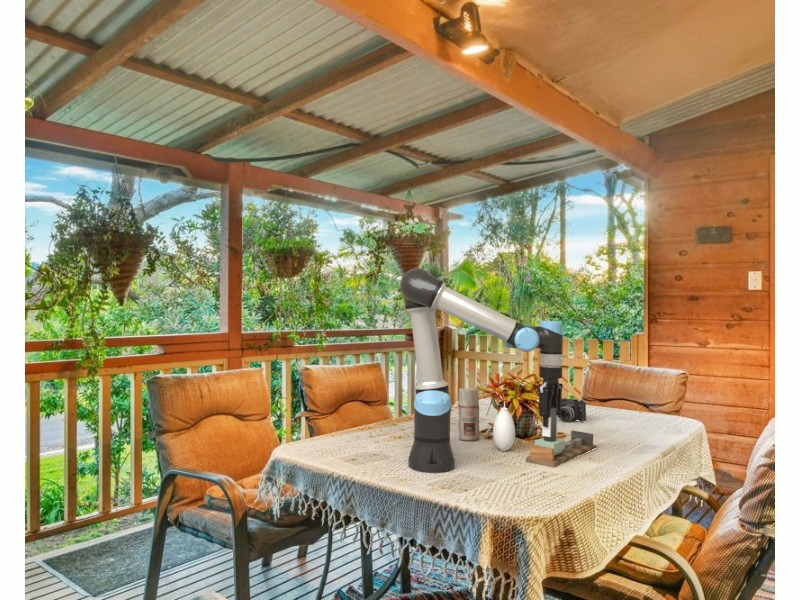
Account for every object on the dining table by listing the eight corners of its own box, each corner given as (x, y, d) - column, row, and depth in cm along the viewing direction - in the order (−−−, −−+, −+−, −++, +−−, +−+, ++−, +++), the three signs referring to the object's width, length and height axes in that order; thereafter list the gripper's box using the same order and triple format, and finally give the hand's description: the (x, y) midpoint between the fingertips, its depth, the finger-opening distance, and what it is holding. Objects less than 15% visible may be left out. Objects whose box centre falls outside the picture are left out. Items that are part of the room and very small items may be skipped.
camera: (547, 419, 259) (547, 398, 259) (560, 416, 267) (560, 395, 267) (575, 424, 249) (575, 402, 249) (588, 421, 256) (588, 400, 256)
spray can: (454, 439, 216) (455, 388, 216) (462, 435, 224) (463, 385, 224) (475, 442, 212) (475, 390, 212) (482, 438, 220) (483, 387, 220)
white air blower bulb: (498, 453, 197) (499, 402, 197) (489, 448, 204) (490, 399, 204) (518, 452, 199) (519, 402, 199) (508, 447, 206) (509, 398, 206)
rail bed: (553, 467, 181) (553, 450, 181) (526, 461, 188) (526, 445, 188) (596, 448, 206) (596, 434, 206) (571, 444, 213) (571, 429, 213)
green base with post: (553, 457, 184) (554, 410, 184) (534, 453, 189) (535, 407, 189) (564, 452, 190) (565, 407, 190) (545, 448, 195) (546, 405, 195)
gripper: (549, 369, 181) (548, 441, 181) (572, 365, 193) (571, 432, 193) (528, 367, 186) (527, 437, 186) (552, 363, 199) (551, 429, 198)
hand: (549, 434), depth 189 cm, fingers closed on green base with post, 4 cm apart
